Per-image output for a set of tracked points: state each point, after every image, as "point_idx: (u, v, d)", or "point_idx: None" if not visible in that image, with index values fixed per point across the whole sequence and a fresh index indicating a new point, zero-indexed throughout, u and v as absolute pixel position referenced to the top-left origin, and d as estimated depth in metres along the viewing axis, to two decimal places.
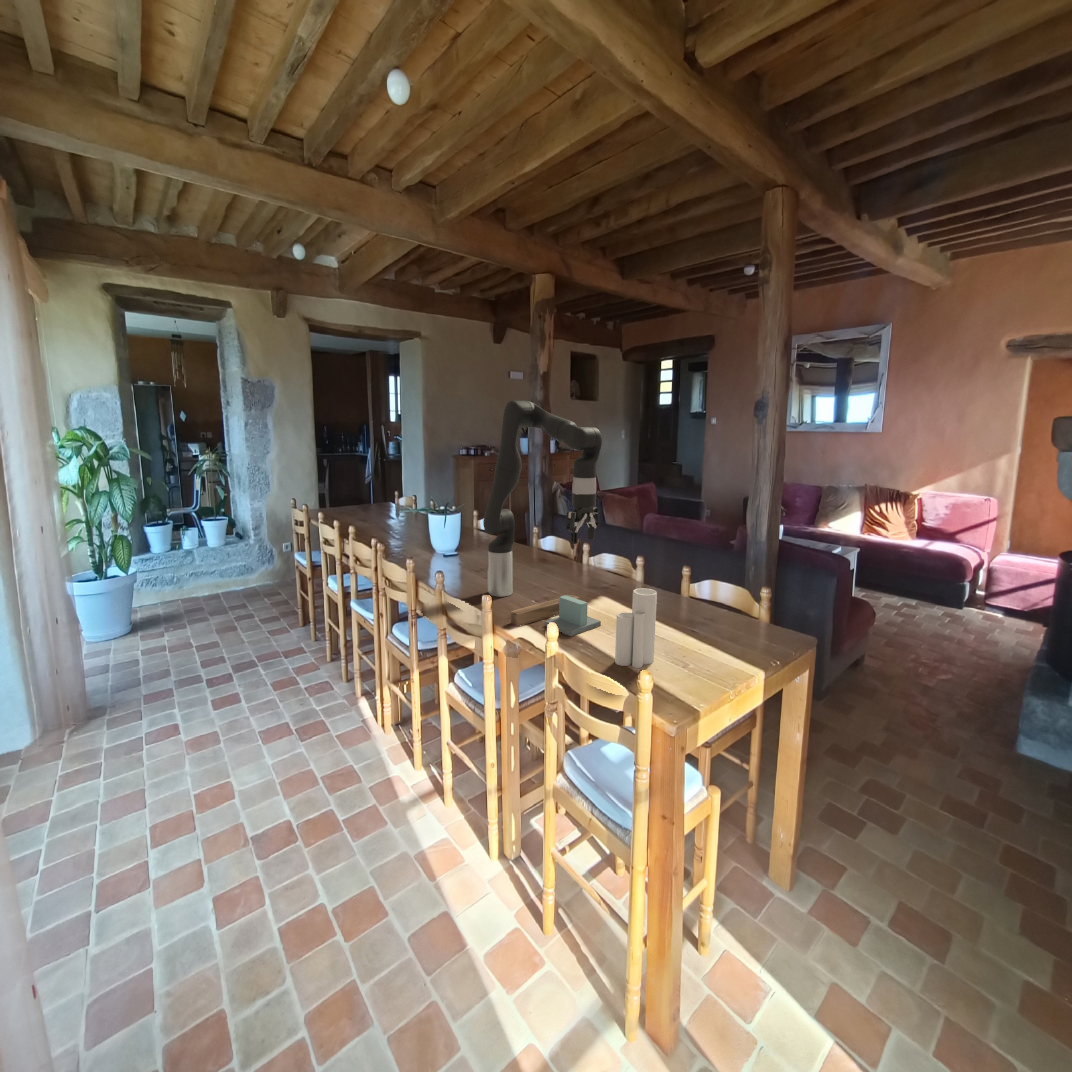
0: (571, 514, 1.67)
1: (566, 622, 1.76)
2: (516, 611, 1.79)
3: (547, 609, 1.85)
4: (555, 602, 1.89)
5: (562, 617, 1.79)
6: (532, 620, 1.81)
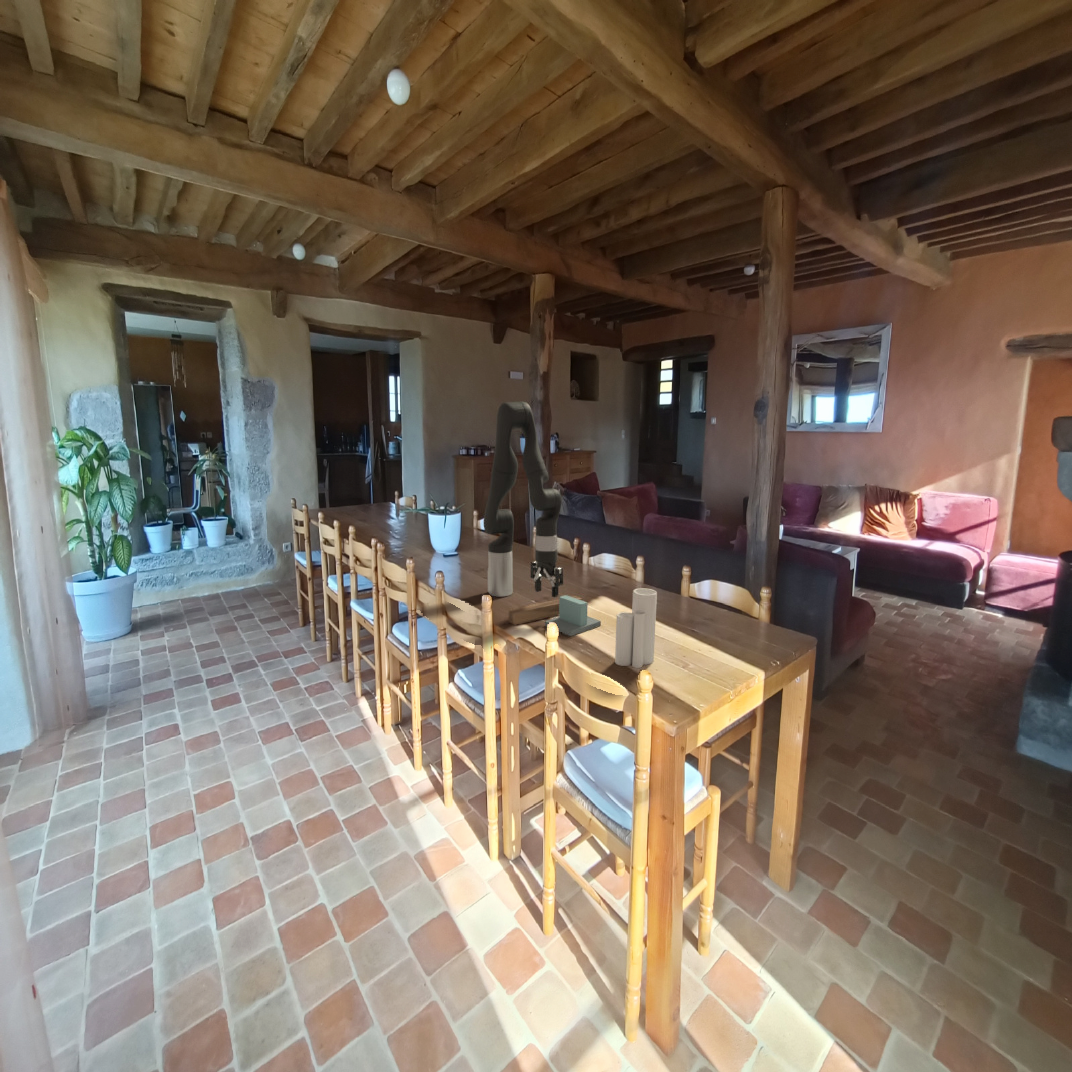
0: (561, 569, 1.79)
1: (566, 622, 1.76)
2: (514, 610, 1.81)
3: (546, 609, 1.85)
4: (556, 602, 1.89)
5: (562, 617, 1.79)
6: (530, 619, 1.82)
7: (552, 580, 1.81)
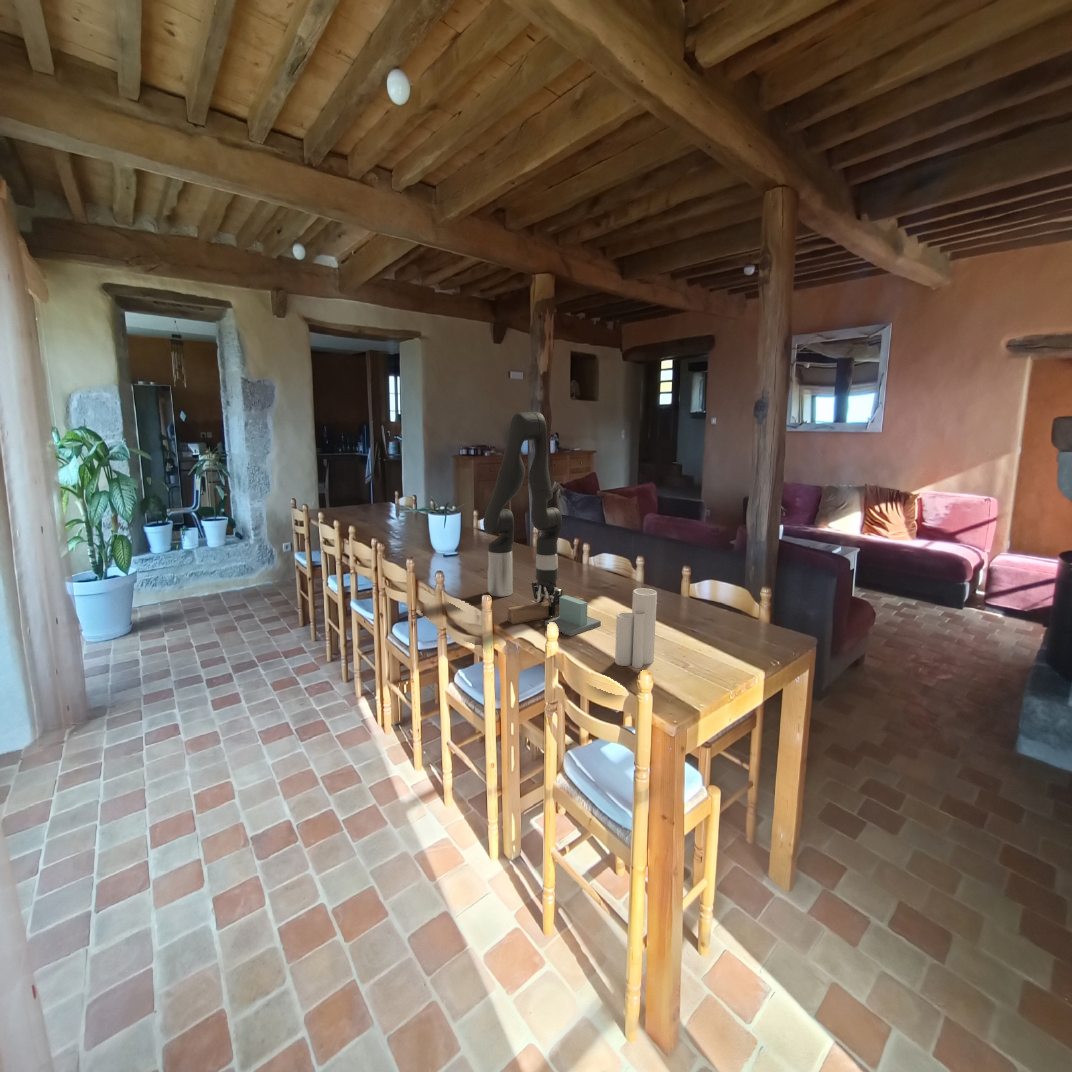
0: (561, 591, 1.81)
1: (566, 622, 1.76)
2: (513, 608, 1.81)
3: (545, 608, 1.85)
4: None
5: (562, 617, 1.79)
6: (529, 618, 1.82)
7: (550, 600, 1.83)
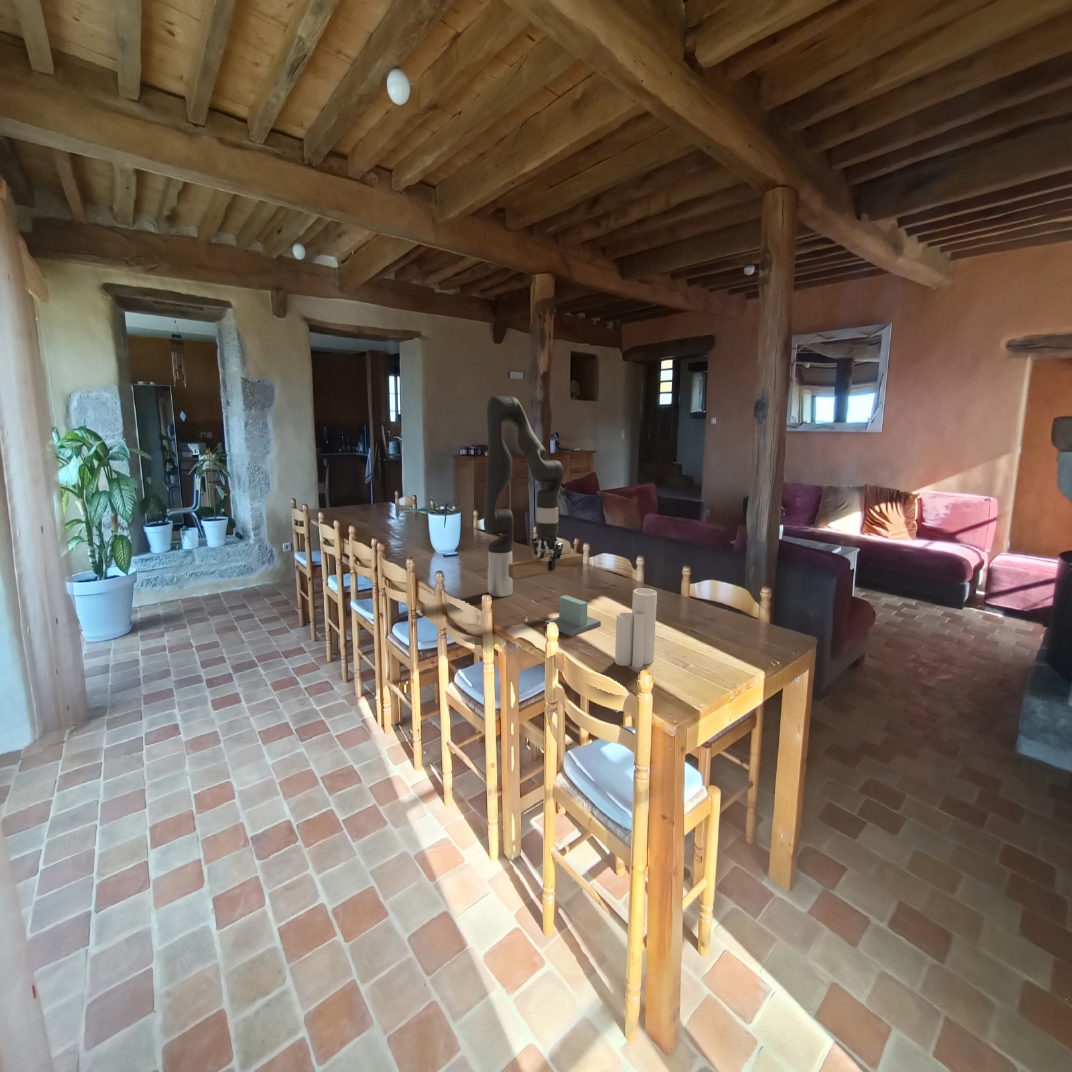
0: (562, 545, 1.78)
1: (566, 622, 1.76)
2: (514, 564, 1.77)
3: (546, 564, 1.82)
4: None
5: (562, 617, 1.79)
6: (530, 574, 1.79)
7: (550, 554, 1.80)
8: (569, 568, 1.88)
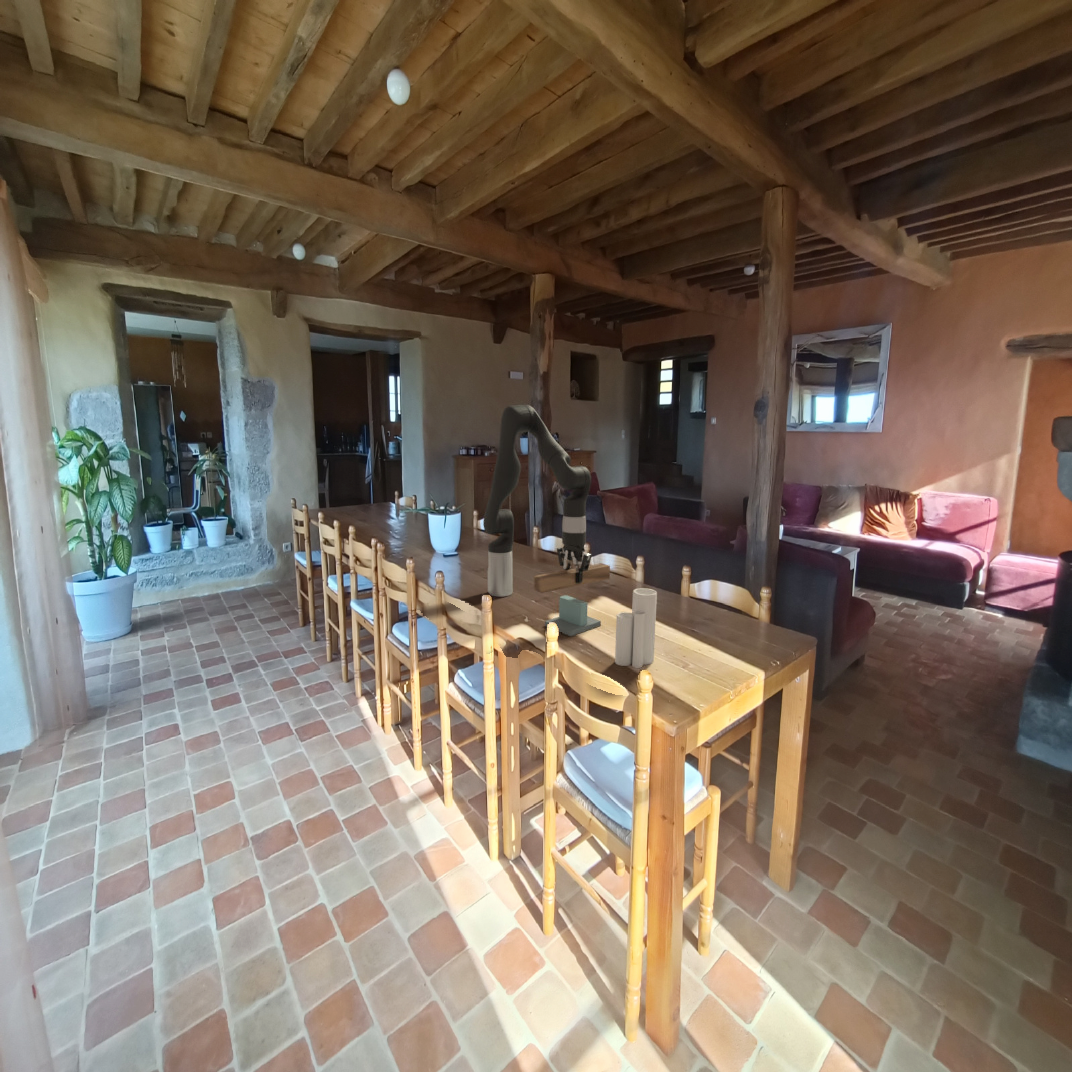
0: (590, 556, 1.69)
1: (566, 622, 1.76)
2: (540, 576, 1.68)
3: (573, 576, 1.72)
4: None
5: (562, 617, 1.79)
6: (557, 586, 1.69)
7: (577, 566, 1.71)
8: (596, 580, 1.78)
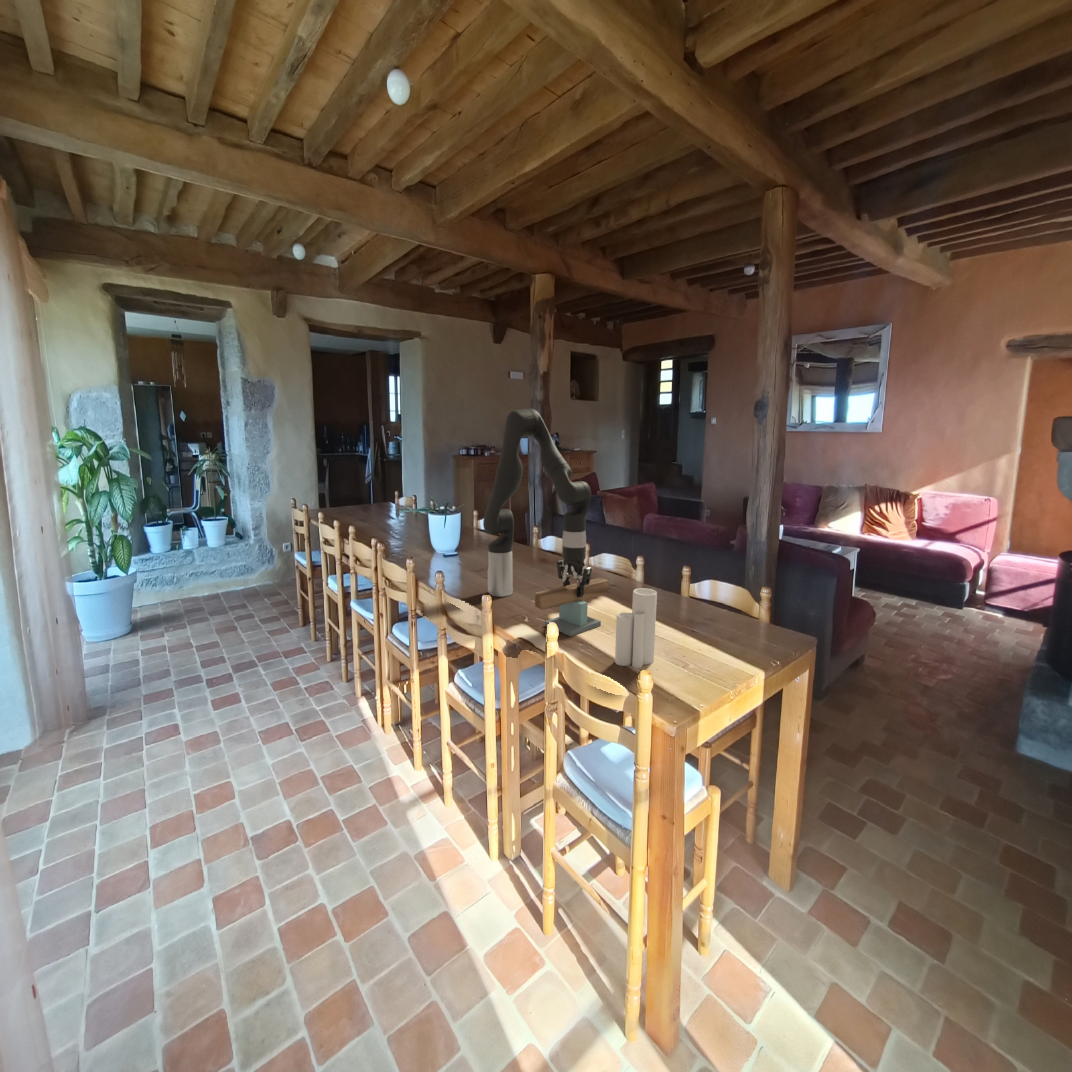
0: (590, 570, 1.70)
1: (566, 622, 1.76)
2: (541, 593, 1.68)
3: (573, 591, 1.73)
4: None
5: (562, 617, 1.79)
6: (558, 603, 1.70)
7: (578, 580, 1.72)
8: (595, 595, 1.80)
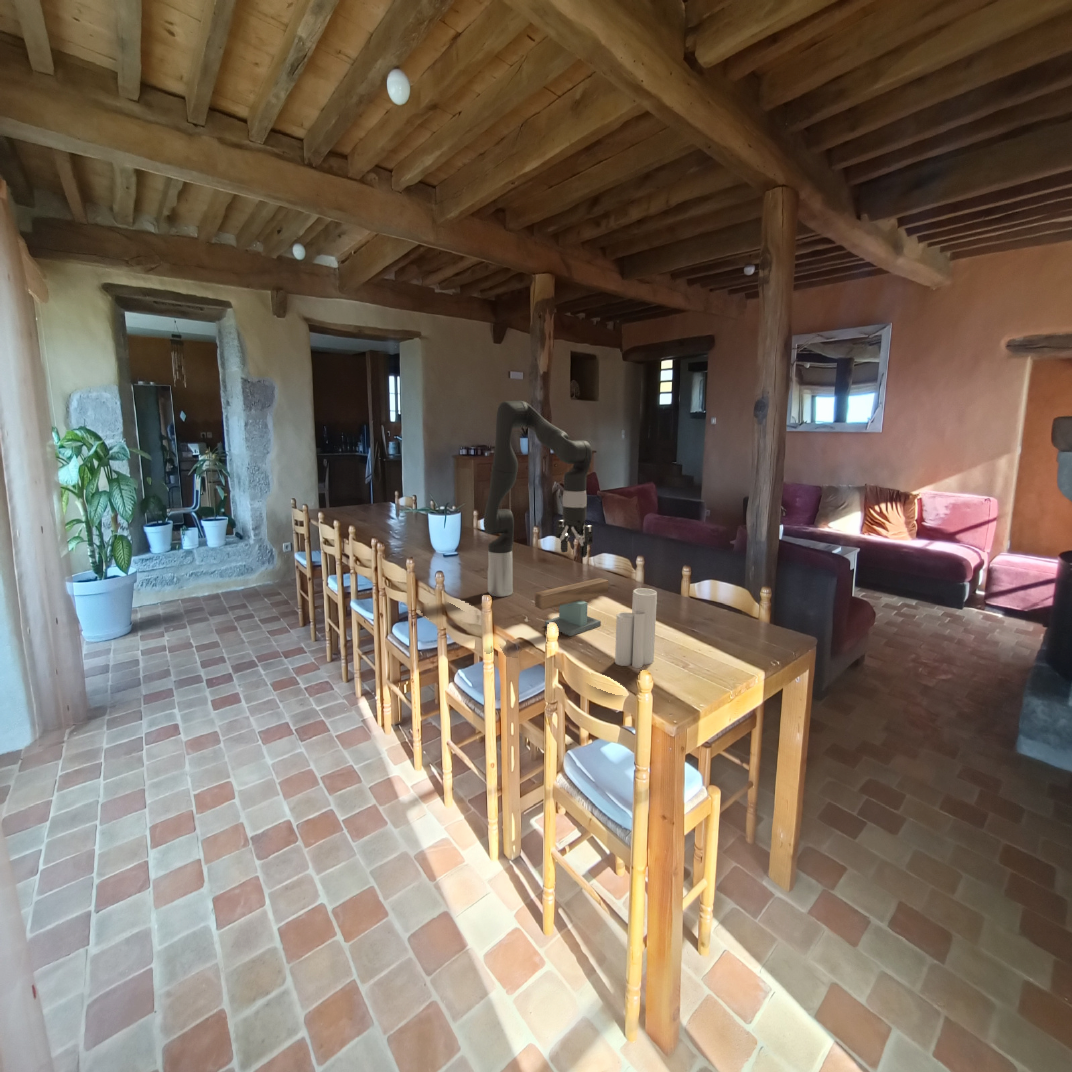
0: (591, 527, 1.67)
1: (566, 622, 1.76)
2: (541, 593, 1.68)
3: (573, 591, 1.73)
4: (583, 584, 1.77)
5: (562, 617, 1.79)
6: (558, 603, 1.70)
7: (581, 539, 1.69)
8: (595, 595, 1.80)
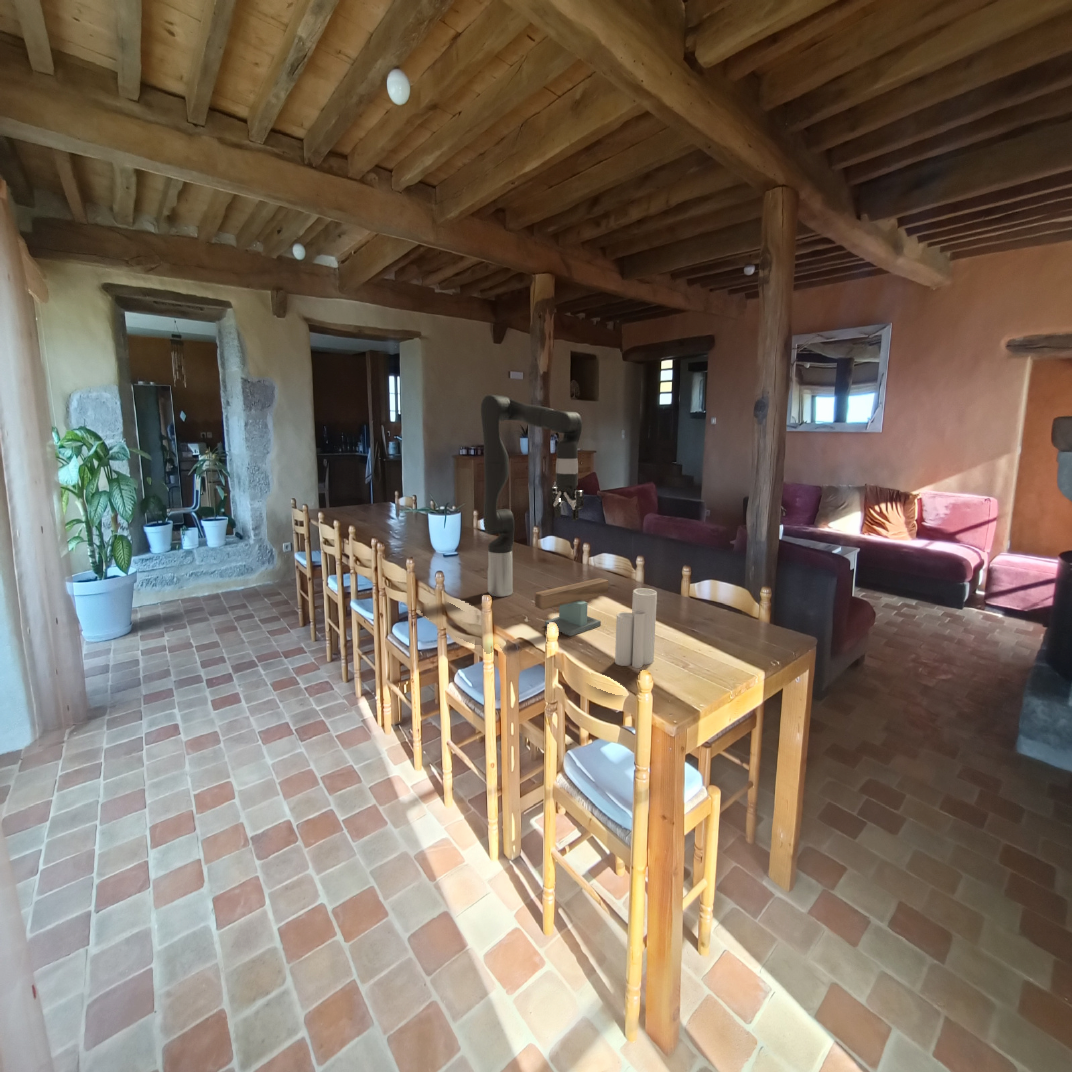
0: (582, 492, 1.80)
1: (566, 622, 1.76)
2: (541, 593, 1.68)
3: (573, 591, 1.73)
4: (583, 584, 1.77)
5: (562, 617, 1.79)
6: (558, 603, 1.70)
7: (573, 503, 1.82)
8: (595, 595, 1.80)
